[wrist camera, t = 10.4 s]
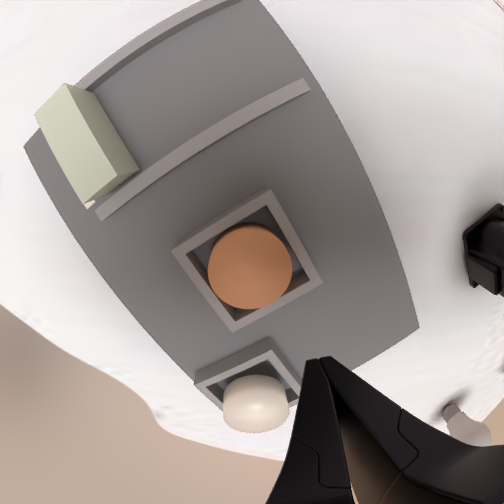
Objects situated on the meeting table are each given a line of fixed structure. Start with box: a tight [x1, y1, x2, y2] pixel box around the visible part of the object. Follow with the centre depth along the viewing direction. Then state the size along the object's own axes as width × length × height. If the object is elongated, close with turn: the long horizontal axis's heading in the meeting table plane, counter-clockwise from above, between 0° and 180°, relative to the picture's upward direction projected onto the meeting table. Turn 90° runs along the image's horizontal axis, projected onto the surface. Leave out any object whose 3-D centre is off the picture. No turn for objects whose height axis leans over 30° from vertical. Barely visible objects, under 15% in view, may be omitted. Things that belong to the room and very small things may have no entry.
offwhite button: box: [223, 375, 289, 433], centre depth 19 cm, size 5×5×2 cm
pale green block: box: [34, 83, 140, 204], centre depth 13 cm, size 2×6×4 cm, turn 31°
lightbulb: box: [443, 404, 491, 446], centre depth 24 cm, size 6×6×11 cm
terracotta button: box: [208, 222, 292, 309], centre depth 17 cm, size 5×5×2 cm
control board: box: [23, 0, 419, 411], centre depth 18 cm, size 18×28×4 cm, turn 31°
